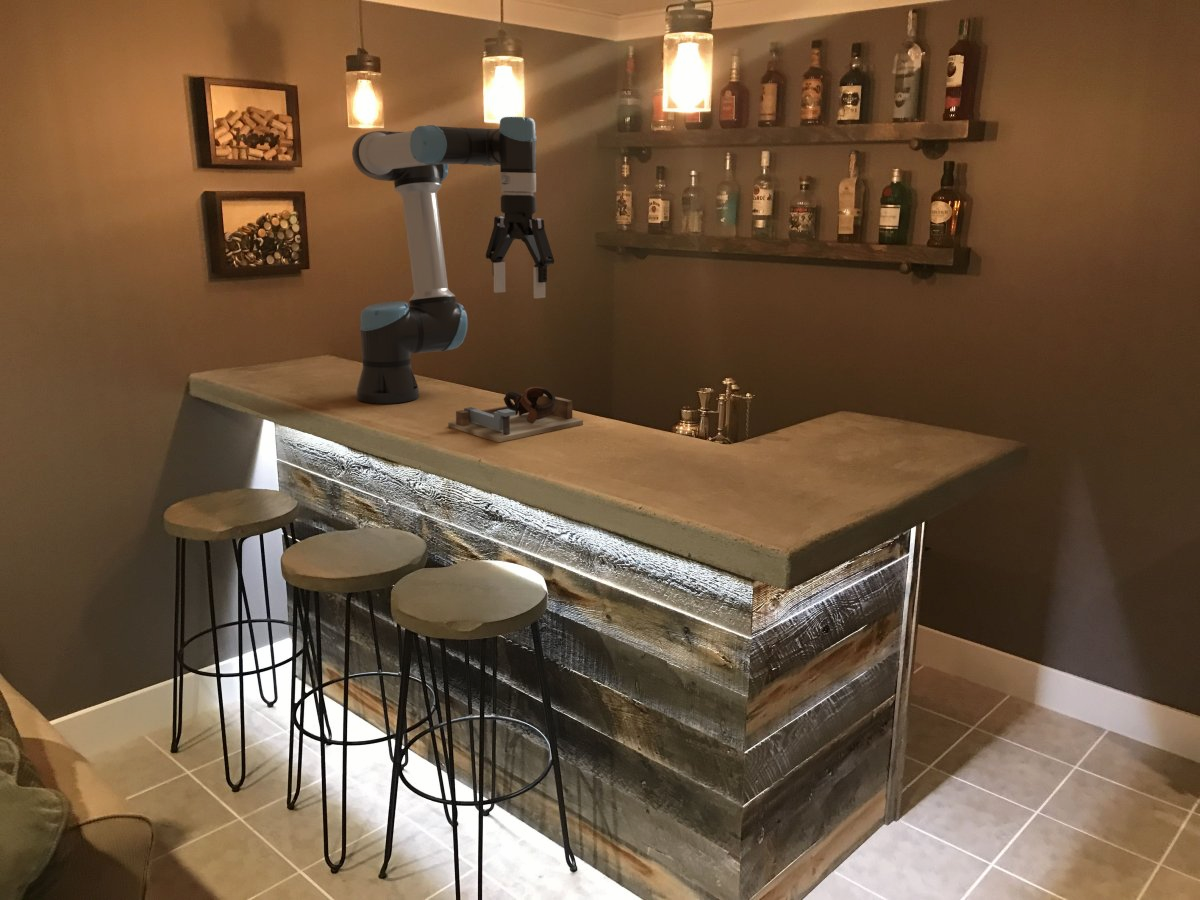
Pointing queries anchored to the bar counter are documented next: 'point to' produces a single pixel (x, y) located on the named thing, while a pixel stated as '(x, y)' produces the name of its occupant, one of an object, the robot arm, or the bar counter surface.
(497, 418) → the leg
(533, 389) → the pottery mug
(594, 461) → the bar counter surface
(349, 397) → the bar counter surface
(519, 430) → the board
